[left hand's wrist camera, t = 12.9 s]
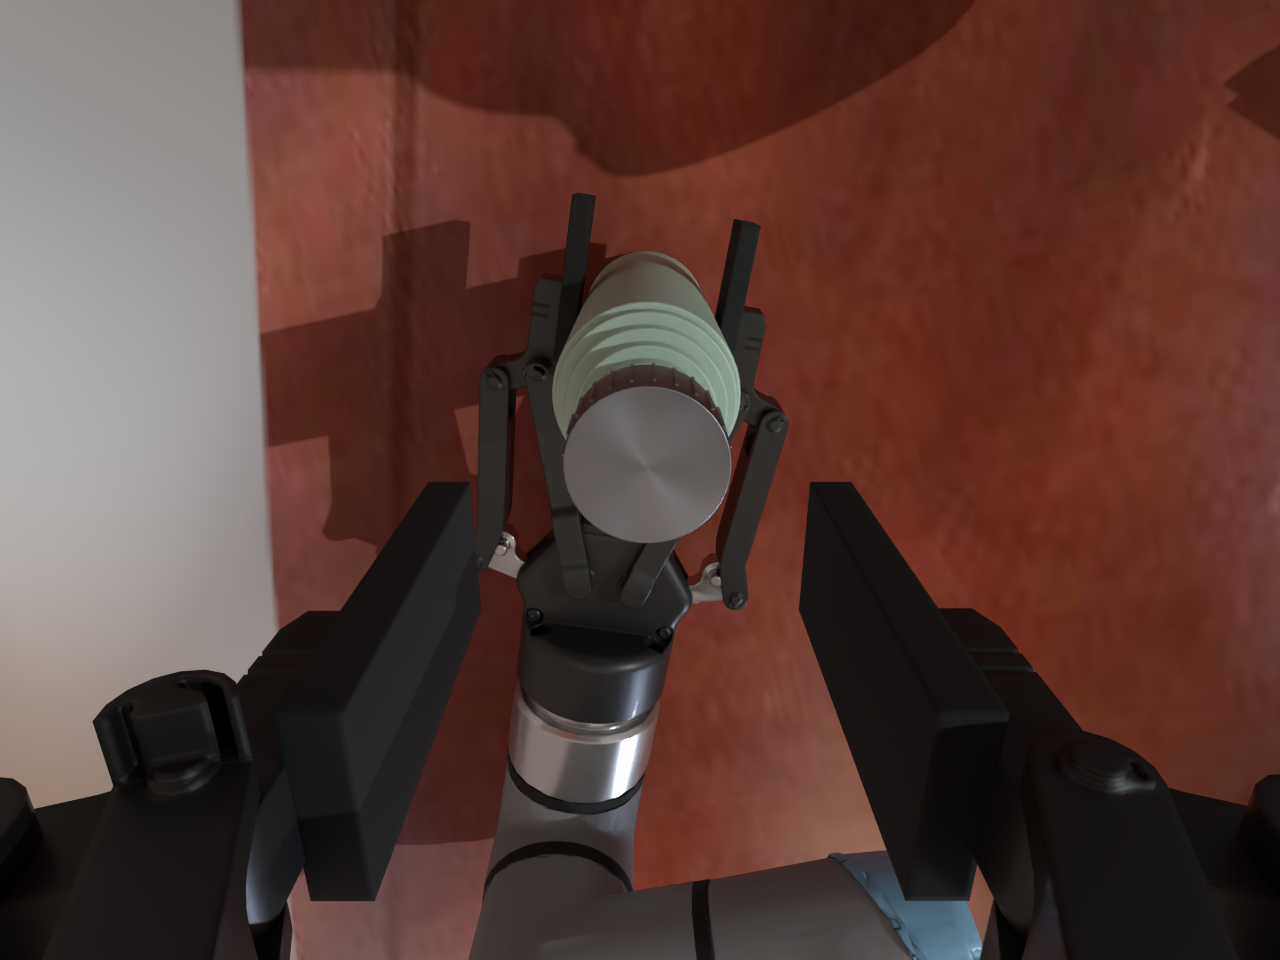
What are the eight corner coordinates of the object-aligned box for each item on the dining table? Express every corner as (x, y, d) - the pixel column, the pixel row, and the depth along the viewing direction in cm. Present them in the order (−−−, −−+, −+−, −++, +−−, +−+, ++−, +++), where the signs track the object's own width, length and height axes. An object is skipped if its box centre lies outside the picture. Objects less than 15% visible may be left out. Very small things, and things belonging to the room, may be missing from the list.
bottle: (567, 337, 39) (488, 510, 19) (618, 229, 37) (590, 295, 17) (669, 388, 40) (696, 604, 20) (725, 285, 38) (815, 411, 18)
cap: (543, 470, 21) (532, 502, 19) (611, 333, 19) (607, 353, 17) (679, 532, 21) (682, 570, 19) (753, 405, 20) (765, 432, 18)
